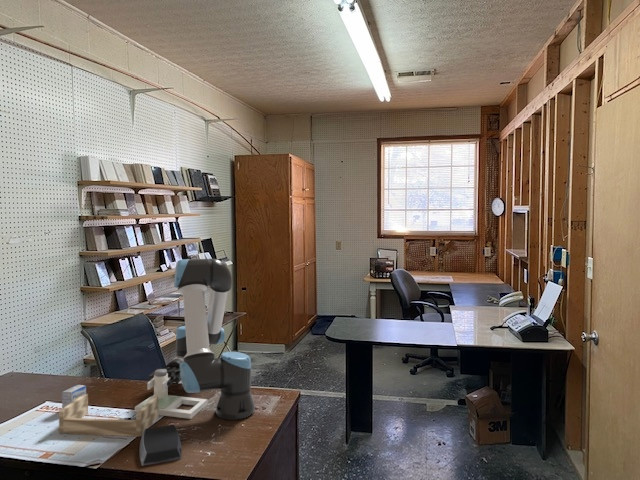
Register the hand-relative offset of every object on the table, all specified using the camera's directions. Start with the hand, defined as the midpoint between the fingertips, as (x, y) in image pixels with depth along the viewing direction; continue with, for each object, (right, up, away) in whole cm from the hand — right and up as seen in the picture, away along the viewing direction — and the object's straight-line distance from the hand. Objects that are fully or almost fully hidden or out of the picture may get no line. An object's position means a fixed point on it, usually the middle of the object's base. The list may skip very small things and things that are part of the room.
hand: (155, 386), depth 173 cm
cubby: (-12, -10, -11) cm, 20 cm away
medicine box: (-33, -10, +1) cm, 34 cm away
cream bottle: (0, -6, +6) cm, 8 cm away
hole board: (+5, -10, +5) cm, 12 cm away
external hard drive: (+11, -12, -26) cm, 31 cm away
